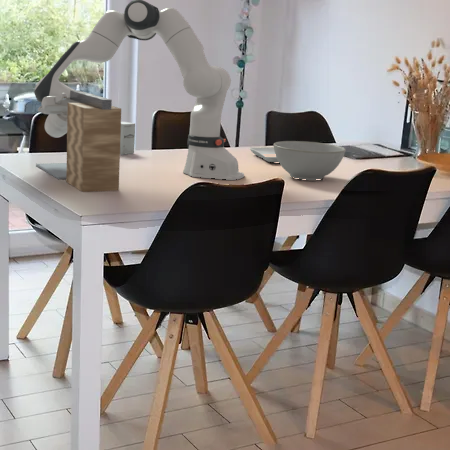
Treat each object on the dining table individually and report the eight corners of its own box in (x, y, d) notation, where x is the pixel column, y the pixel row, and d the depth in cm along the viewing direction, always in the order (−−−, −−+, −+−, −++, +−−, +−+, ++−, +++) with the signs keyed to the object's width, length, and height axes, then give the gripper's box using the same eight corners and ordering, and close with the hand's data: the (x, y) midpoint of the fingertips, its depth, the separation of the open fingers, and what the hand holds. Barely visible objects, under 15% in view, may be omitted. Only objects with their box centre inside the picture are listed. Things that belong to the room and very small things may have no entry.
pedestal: (66, 182, 260) (67, 102, 254) (100, 180, 266) (103, 103, 259) (82, 191, 246) (84, 108, 240) (118, 190, 252) (121, 108, 246)
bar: (70, 99, 265) (70, 90, 264) (78, 99, 266) (78, 90, 266) (102, 109, 240) (102, 99, 239) (111, 109, 241) (111, 99, 241)
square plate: (327, 167, 329) (328, 157, 328) (265, 165, 322) (266, 156, 321) (305, 156, 354) (306, 147, 353) (247, 154, 347) (247, 146, 346)
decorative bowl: (350, 178, 304) (353, 146, 301) (330, 188, 280) (334, 154, 277) (285, 169, 314) (287, 138, 311) (260, 178, 290) (262, 145, 287)
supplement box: (122, 155, 322) (123, 124, 319) (109, 152, 326) (110, 122, 323) (134, 153, 327) (135, 123, 324) (121, 151, 332) (122, 121, 329)
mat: (36, 165, 285) (36, 163, 285) (73, 164, 292) (73, 162, 292) (58, 179, 263) (58, 177, 263) (98, 178, 270) (98, 175, 270)
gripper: (35, 103, 270) (46, 85, 258) (92, 104, 280) (105, 87, 268) (37, 120, 268) (48, 103, 257) (95, 120, 278) (108, 104, 267)
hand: (78, 95), depth 262 cm, fingers open, 8 cm apart
